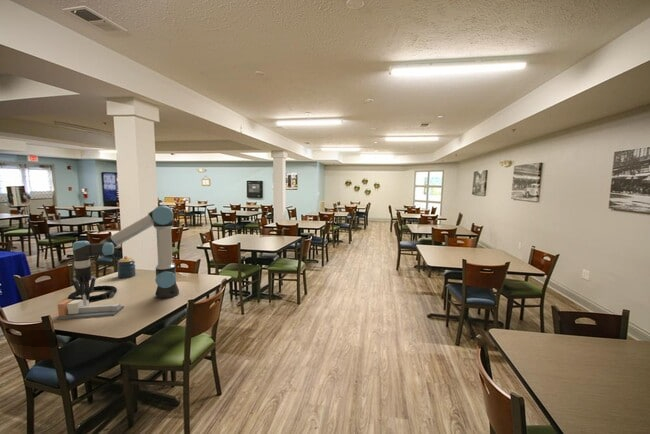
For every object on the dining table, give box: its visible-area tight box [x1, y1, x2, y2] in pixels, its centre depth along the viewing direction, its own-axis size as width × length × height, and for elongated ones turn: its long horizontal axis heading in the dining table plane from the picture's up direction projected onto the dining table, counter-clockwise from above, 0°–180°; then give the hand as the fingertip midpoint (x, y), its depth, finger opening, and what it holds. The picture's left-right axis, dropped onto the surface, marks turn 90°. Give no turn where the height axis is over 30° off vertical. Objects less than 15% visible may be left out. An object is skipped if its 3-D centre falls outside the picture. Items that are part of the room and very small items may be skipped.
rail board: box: [56, 298, 125, 321], centre depth 179 cm, size 30×12×8 cm, turn 101°
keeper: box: [67, 300, 84, 314], centre depth 177 cm, size 5×6×6 cm
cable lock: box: [67, 285, 118, 303], centre depth 208 cm, size 28×4×30 cm
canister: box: [116, 256, 137, 279], centre depth 253 cm, size 13×13×18 cm
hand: (86, 304), depth 178 cm, fingers closed
